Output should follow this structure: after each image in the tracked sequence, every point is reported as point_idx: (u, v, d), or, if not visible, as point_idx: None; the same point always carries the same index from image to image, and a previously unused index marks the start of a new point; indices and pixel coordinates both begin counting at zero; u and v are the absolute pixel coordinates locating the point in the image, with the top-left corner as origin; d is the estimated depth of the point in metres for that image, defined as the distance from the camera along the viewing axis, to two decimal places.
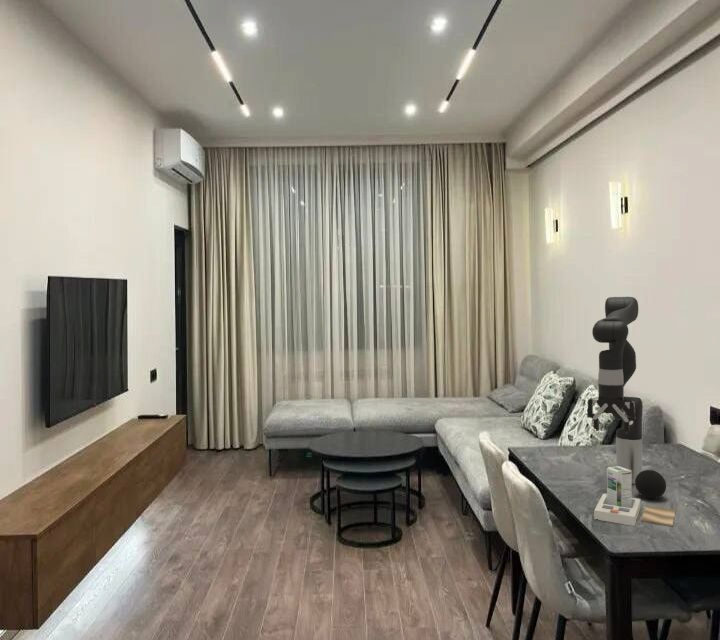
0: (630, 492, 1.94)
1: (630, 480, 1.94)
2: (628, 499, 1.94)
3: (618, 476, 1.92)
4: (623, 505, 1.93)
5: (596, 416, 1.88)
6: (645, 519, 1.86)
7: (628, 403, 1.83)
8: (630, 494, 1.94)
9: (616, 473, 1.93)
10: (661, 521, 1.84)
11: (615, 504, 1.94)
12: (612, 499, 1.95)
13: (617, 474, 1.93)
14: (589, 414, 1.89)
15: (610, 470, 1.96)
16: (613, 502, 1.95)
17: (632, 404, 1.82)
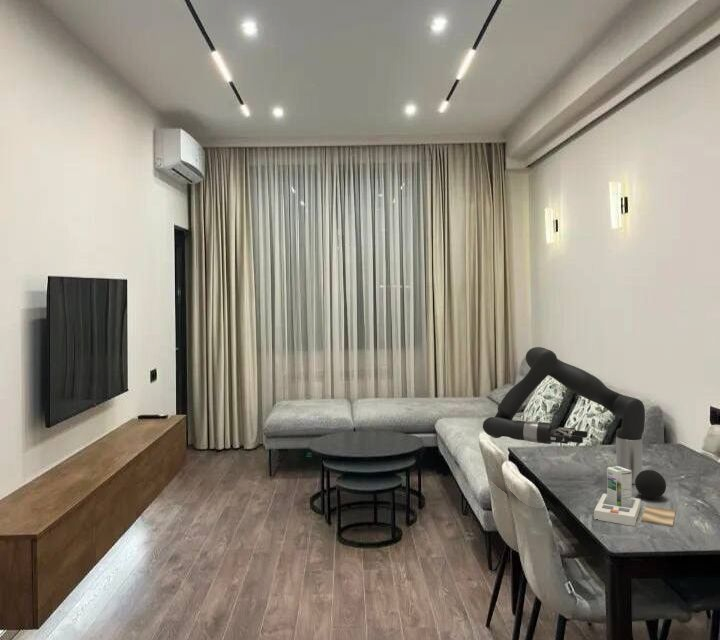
0: (630, 492, 1.94)
1: (630, 480, 1.94)
2: (628, 499, 1.94)
3: (618, 476, 1.92)
4: (623, 505, 1.93)
5: None
6: (645, 519, 1.86)
7: None
8: (630, 494, 1.94)
9: (616, 473, 1.93)
10: (661, 521, 1.84)
11: (615, 504, 1.94)
12: (612, 500, 1.95)
13: (617, 474, 1.93)
14: (572, 435, 2.09)
15: (610, 470, 1.96)
16: (613, 502, 1.95)
17: (552, 441, 2.00)
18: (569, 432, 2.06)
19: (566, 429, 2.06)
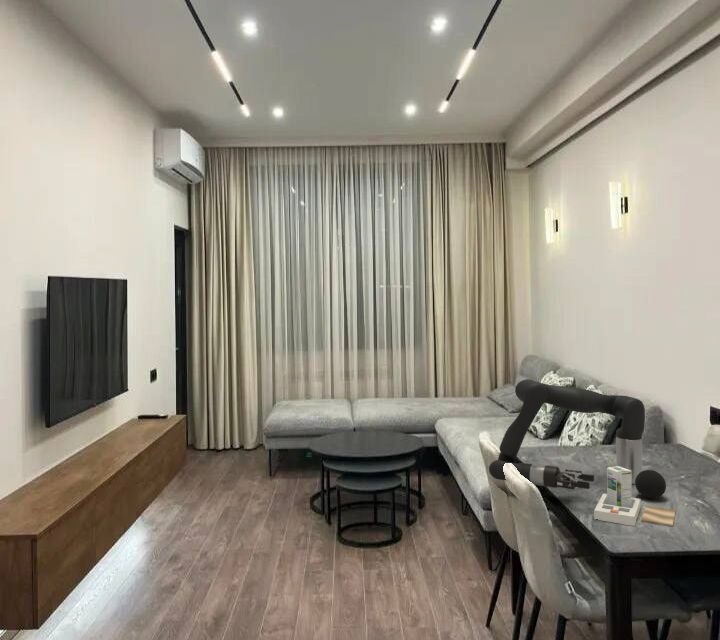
0: (630, 492, 1.94)
1: (630, 480, 1.94)
2: (628, 499, 1.94)
3: (618, 476, 1.92)
4: (623, 505, 1.93)
5: None
6: (645, 519, 1.86)
7: None
8: (630, 494, 1.94)
9: (616, 473, 1.93)
10: (661, 521, 1.84)
11: (615, 504, 1.94)
12: (612, 500, 1.95)
13: (617, 474, 1.93)
14: None
15: (610, 470, 1.96)
16: (613, 502, 1.95)
17: (558, 486, 2.00)
18: (576, 476, 2.06)
19: (573, 473, 2.06)
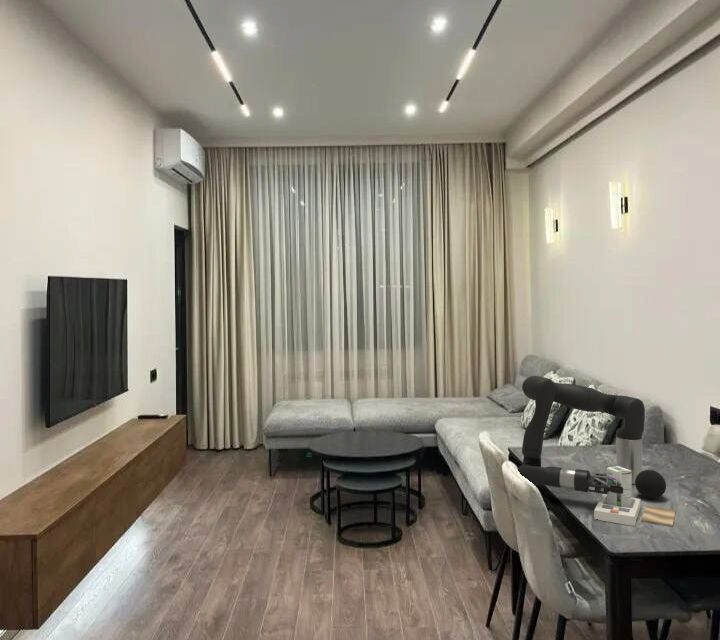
0: (630, 492, 1.94)
1: (630, 480, 1.94)
2: (628, 498, 1.94)
3: (618, 476, 1.92)
4: (623, 505, 1.93)
5: None
6: (645, 519, 1.86)
7: None
8: (630, 494, 1.94)
9: (616, 473, 1.93)
10: (661, 521, 1.84)
11: (615, 504, 1.94)
12: (612, 500, 1.95)
13: (617, 474, 1.93)
14: None
15: (610, 470, 1.96)
16: (613, 502, 1.95)
17: (591, 491, 1.95)
18: None
19: (604, 477, 2.00)
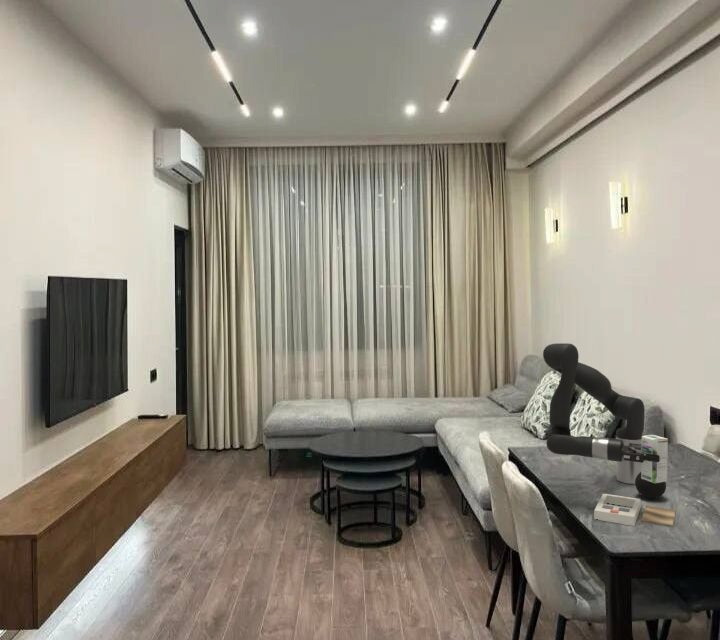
0: (666, 461, 1.88)
1: (666, 448, 1.88)
2: (664, 468, 1.87)
3: (654, 444, 1.86)
4: (658, 474, 1.87)
5: None
6: (645, 519, 1.86)
7: None
8: (666, 463, 1.88)
9: (652, 441, 1.87)
10: (661, 521, 1.84)
11: (650, 473, 1.88)
12: (647, 469, 1.89)
13: (652, 442, 1.87)
14: None
15: (645, 438, 1.89)
16: (648, 471, 1.88)
17: (625, 460, 1.88)
18: None
19: (639, 446, 1.94)
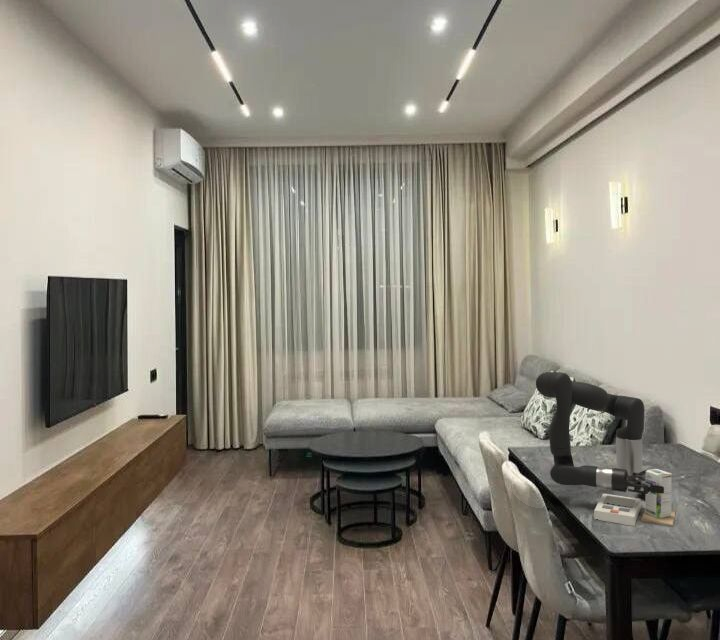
0: (670, 496, 1.88)
1: (670, 483, 1.88)
2: (668, 502, 1.88)
3: (658, 480, 1.86)
4: (662, 510, 1.87)
5: None
6: (645, 519, 1.86)
7: None
8: (670, 498, 1.88)
9: (656, 476, 1.87)
10: (661, 521, 1.84)
11: (654, 508, 1.88)
12: (651, 503, 1.89)
13: (657, 477, 1.87)
14: None
15: (649, 473, 1.89)
16: (652, 506, 1.89)
17: (630, 491, 1.88)
18: None
19: (643, 476, 1.94)
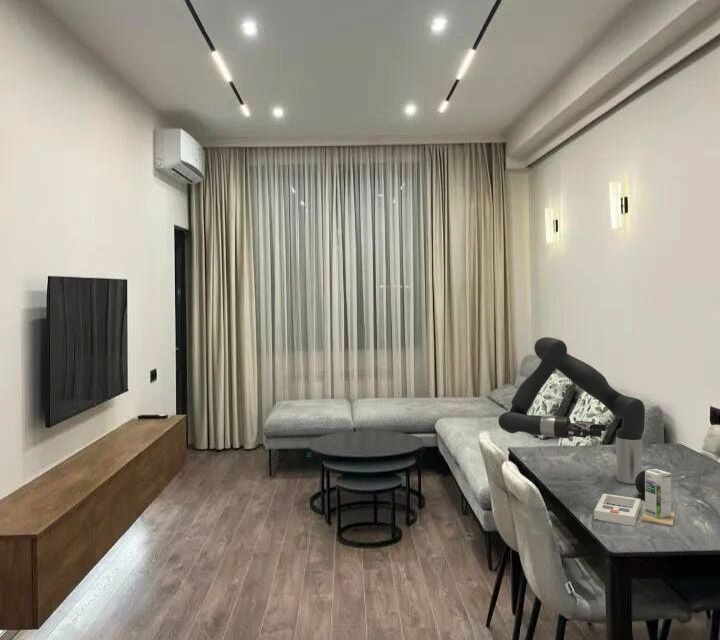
0: (669, 496, 1.88)
1: (669, 483, 1.88)
2: (668, 502, 1.88)
3: (658, 480, 1.86)
4: (662, 509, 1.87)
5: None
6: (645, 519, 1.86)
7: None
8: (669, 498, 1.88)
9: (655, 476, 1.87)
10: (661, 521, 1.84)
11: (654, 508, 1.88)
12: (651, 503, 1.89)
13: (656, 477, 1.87)
14: (590, 428, 2.06)
15: (649, 473, 1.90)
16: (652, 506, 1.89)
17: None
18: (587, 426, 2.03)
19: (584, 423, 2.03)
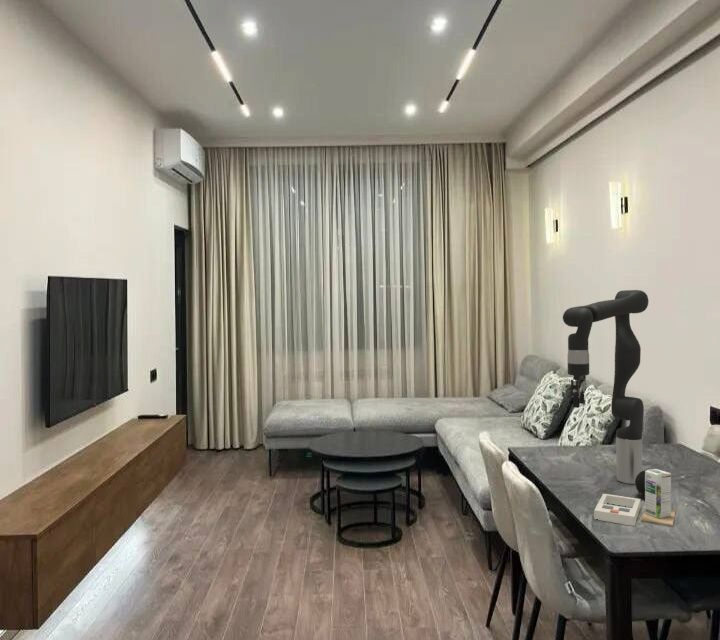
0: (669, 496, 1.88)
1: (669, 483, 1.88)
2: (668, 502, 1.88)
3: (658, 480, 1.86)
4: (662, 509, 1.87)
5: None
6: (645, 519, 1.86)
7: None
8: (669, 498, 1.88)
9: (655, 476, 1.87)
10: (661, 521, 1.84)
11: (654, 508, 1.88)
12: (651, 503, 1.89)
13: (656, 477, 1.87)
14: None
15: (649, 473, 1.90)
16: (652, 506, 1.89)
17: (571, 381, 2.07)
18: None
19: (584, 386, 2.13)
